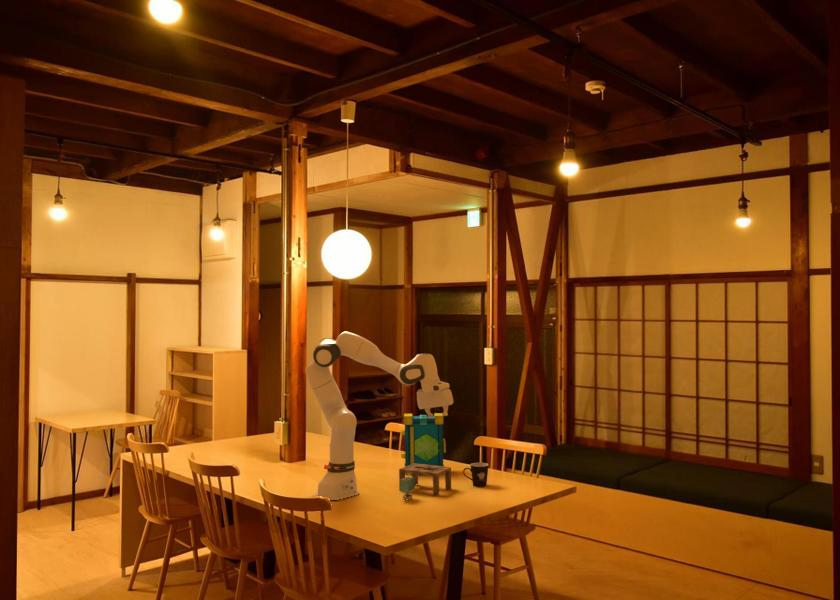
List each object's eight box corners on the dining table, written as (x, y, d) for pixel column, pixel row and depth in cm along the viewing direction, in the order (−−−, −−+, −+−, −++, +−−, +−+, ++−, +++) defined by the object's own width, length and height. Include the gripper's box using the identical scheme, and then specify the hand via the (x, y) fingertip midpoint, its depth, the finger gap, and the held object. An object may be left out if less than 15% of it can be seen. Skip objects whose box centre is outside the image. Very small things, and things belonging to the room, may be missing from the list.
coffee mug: (490, 483, 327) (489, 463, 327) (487, 488, 319) (486, 466, 319) (466, 482, 330) (466, 462, 331) (462, 486, 322) (462, 465, 322)
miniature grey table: (451, 488, 319) (450, 467, 319) (437, 495, 307) (436, 473, 307) (414, 483, 329) (414, 463, 329) (399, 490, 317) (399, 469, 317)
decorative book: (446, 475, 346) (445, 416, 347) (400, 476, 346) (400, 417, 346) (444, 469, 360) (444, 412, 361) (401, 469, 360) (400, 413, 361)
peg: (408, 501, 298) (407, 480, 298) (400, 500, 300) (400, 479, 300) (414, 498, 303) (414, 477, 304) (407, 496, 305) (406, 476, 306)
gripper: (411, 391, 319) (418, 420, 318) (442, 385, 304) (449, 416, 303) (420, 388, 323) (427, 417, 322) (451, 383, 309) (458, 413, 308)
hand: (438, 416), depth 313 cm, fingers open, 8 cm apart
